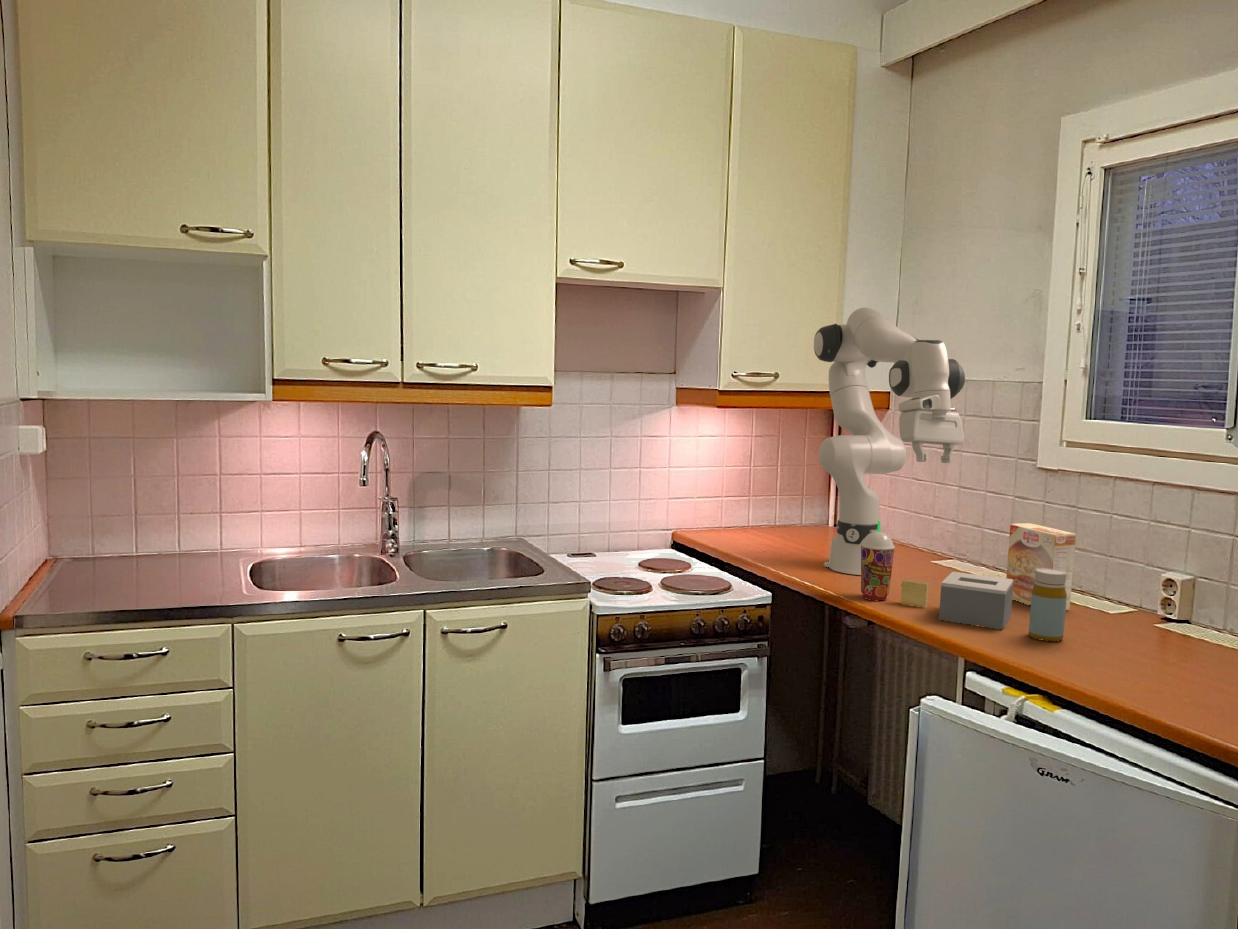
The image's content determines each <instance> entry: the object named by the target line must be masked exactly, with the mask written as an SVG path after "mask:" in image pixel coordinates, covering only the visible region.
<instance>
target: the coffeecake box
mask: <svg viewBox="0 0 1238 929" xmlns="http://www.w3.org/2000/svg"><path fill="white" fill-rule="evenodd" d="M1009 526H1010V528H1009V538H1008V541H1009V542H1008V553H1007V565H1006V566H1007V567H1006V578H1005V579H1013V594H1012V601H1014V600H1016V601H1015V602H1017V601H1019V602H1018V603H1020V602H1021V603H1020V604H1023V603H1024V604H1023V605H1027V606H1029V605H1031V595H1032V589H1033V587H1034V585H1035V571H1036V569H1039V568H1048V569H1057V570H1061V571H1064V572H1066V582H1065V590H1066V593H1067V599H1066V610H1068V611H1070V608H1071V595H1072V585H1073V584H1072V583H1073V571H1074V559H1075V549H1076V535H1077V534H1076V533H1075V532H1069V531H1065V530H1060V529H1057V528H1053V527H1049V526H1044V525H1039V524H1035V523H1031V522H1029V523H1028V522H1026V523H1018V522H1016V523H1010V525H1009Z"/></svg>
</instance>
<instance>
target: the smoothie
mask: <svg viewBox="0 0 1238 929" xmlns="http://www.w3.org/2000/svg"><path fill="white" fill-rule="evenodd" d="M881 522H882V520H879V521H878V528H877V531H875V532H871V533H869V534H868V535H867V536H866V537H865V538H864V540H863V542H862V543H861V575H860V592H861V593H862V597H863V599H865V598H867V599H870V600H869V601H871V600H884V601H886V600H887V597H888V596H889V595H890V590H891V588H890V586H891V578H892V572H893V563H894V556H895V549H896V546H895V545H894V542H893V540H892V538H891V537H890V536H889V534H887V533H885V532H883V531H881V525H880V523H881ZM867 599H866V600H867Z"/></svg>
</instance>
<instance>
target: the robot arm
mask: <svg viewBox="0 0 1238 929" xmlns="http://www.w3.org/2000/svg"><path fill="white" fill-rule="evenodd" d="M813 350H814V355H815V356H816V357H817V360H820V361H822V362H825V363H826V362H827V363H832V362H833V363H832V364H831V365H830V367H829V369H828V390H829V396H830V401H831V406H832V411H833V416H834V420H835V422H836V424H837V425H838V426H839V427H840V428H842V429H844V430H846V431H847V432H848V433H849V434H851V435H849V434H840V435H835V436H830V437H827V438H825V439H823V441H822V442H821V443H820V446H819V448H818V452H817V453H818V460H819V464H820V466H821V467H822V469H823V470H824V471H826V472H827V473H828V474H829V475H830V476H831V478H832V479H833V480H834V482H835V485H836V487H837V491H838V495H839V501H838V502H839V511H838V512H839V515H838V516H839V517H838V520H837V522H836V523H837V524H836V533H837V534H836V535H835V536H833V537H832V538H831V541H830V549H829V557H828V559H829V560H828V561H825V562H823V567H825V568H826V567H827V568H828V567H829V568H828V569H831V570H832V571H834V572H837V573H838V572H839V573H843V574H847V575H858V576H861V543H862V542H863V540H864V538H865V537H866V536H867V535H868V534H869V533H871V532H875V531H877V528H878V521H880V509H881V508H880V505H881V504H880V502H881V499H880V496H879V493H878V492H877V491H876V490H875V489H873V488H871V487H869V486H868V485H866V483H865V482H866V481H865V480H864V479H865V478H864V474H867V475H868V474H869V475H870V474H871V475H873V474H875V475H878V474H881V475H884V474H889V473H893V472H898V471H900V470H901V469H902V468H903V467H904V465H905V464H906V461H907V449H906V445H905V443H911V447H912V449H913V452H914V455H916V456H915V459H916V462H919V463H923V462H927V454H926V453H925V452H924V449H923V447H924V444H927V445H931V444H932V445H942V449H943V454H942V455H940V459H941V460H940V462H941V463H942V464H950V463H951V462H952V454H953V452H954V449H955V447H954V446H957V445H958V446H959V445H962V444H963V443H964V440H965V435H964V427H963V426H964V425H963V420H962V418H961V415H960V414H959V412H958V410H956V408H955V407H952V404H951V403H952V402H951V400H952V399H953V398H955V397H956V396H957V395H958V394H959V393H960V392H961V391H962V390H963V388H964V385H965V384H966V375H965V371H964V369H963V367H962V365H961V364H960V363H959V362H958V360H956V359H954V358H949V357H948V356H949V355H948V351H947V347H946V344H945V342H943V341H942V340H938V339H918V338H916V337H915V336H912V335H911V334H909V333H907V332H905V331H903V330H902V329H900V328H899V327H898V326H896V325H895V324H893V323H892V322H891V321H889V319H888V318H887V317H885V316H884V315H883V314H881V313H880V312H878V311H877V310H875V309H872V308H869V307H861V308H857V309H855V310H854V311H853V312H851V314H850V315H849V316H848V318H847V321H846V324H838V323H834V324H829V325H825V326H822V327H821V328H819V329H818V330H817V331H816V333H815V334H814V339H813ZM879 362H881V363H894V364H893V365H892V366H891V368H890V369H889V371H888V383H889V387H890V390H891V391H892V393H894V394H895V395H896V396H897V397H901V398H910V399H907V400H904V401H902V402H900V403H898V411H899V412H900V415H899V420H898V421H899V422H898V425H899V426H898V428H899V429H898V430H899V436H900V438H898V437H896V436H895V435H894V434H892V433H891V432H889V430H888V429H887V428H886V427H885V426H884V425H883V424H882V422H881V421H880V419H879V418H878V416H877V414H876V412H875V409H874V405H873V403H872V402H873V401H872V398H871V394H870V391H869V390H870V389H869V386H868V383H867V379H866V375H865V371H866V368H867V366H868V367H869V368H875V367H876V366H877V363H879ZM880 526H881V523H880Z"/></svg>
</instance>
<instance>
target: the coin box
mask: <svg viewBox="0 0 1238 929" xmlns="http://www.w3.org/2000/svg"><path fill="white" fill-rule="evenodd" d="M1012 594H1013V579H1006V578H1004V577H995V576H990V575H989V576H988V575H983V574H982V575H981V574H974V573H966V572H958V571H952V572H951V573H949V575H947V576H946V577H945V578H944V580H942V581H941V585H940V594H939V595H940V597H939V612H938V620H939V619H940V620H945V621H944V622H947V621H951V622H950V623H953V622H957V623H956V624H960V623H962V624H961V625H966V624H973V625H979V626H984V627H983V628H986V627H991V628H990V629H992V628H996V629H995V630H999V629H1003V628H1004V629H1005V627H1006V625H1007V624H1008V622H1007V621H1009V620H1010V619H1011V617H1012V605H1013V600H1012ZM1010 616H1011V617H1010ZM1009 618H1010V619H1009ZM1008 619H1009V620H1008ZM940 620H939V621H940ZM1006 623H1007V624H1006ZM1005 624H1006V625H1005ZM973 625H972V626H973ZM979 626H978V627H979ZM1004 629H1003V630H1004Z"/></svg>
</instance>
